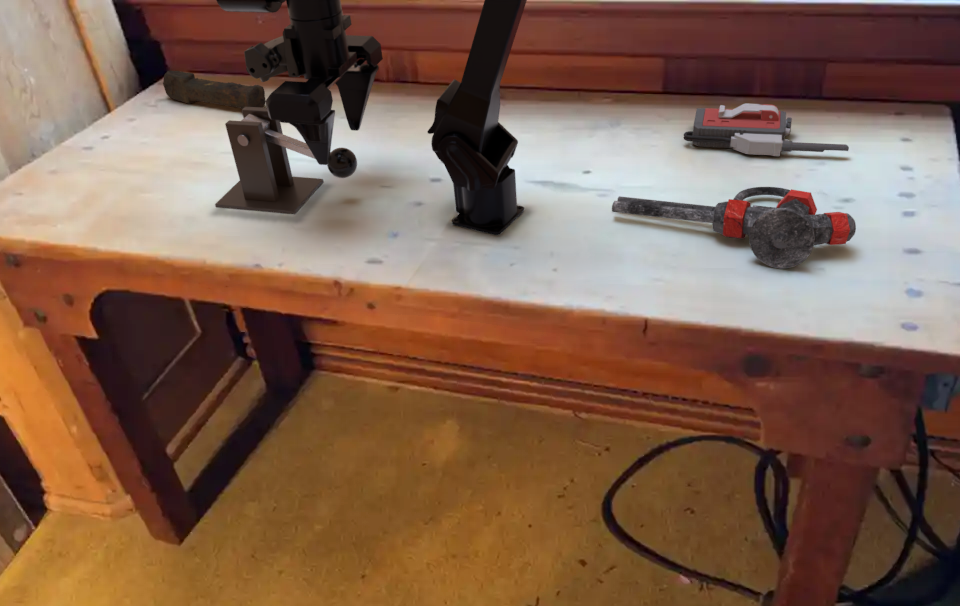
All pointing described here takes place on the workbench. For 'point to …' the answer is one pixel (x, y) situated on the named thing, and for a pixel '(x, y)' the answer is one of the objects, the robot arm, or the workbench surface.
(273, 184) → the bracket
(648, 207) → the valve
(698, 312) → the workbench surface
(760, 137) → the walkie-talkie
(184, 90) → the hand tool
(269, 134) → the lever
